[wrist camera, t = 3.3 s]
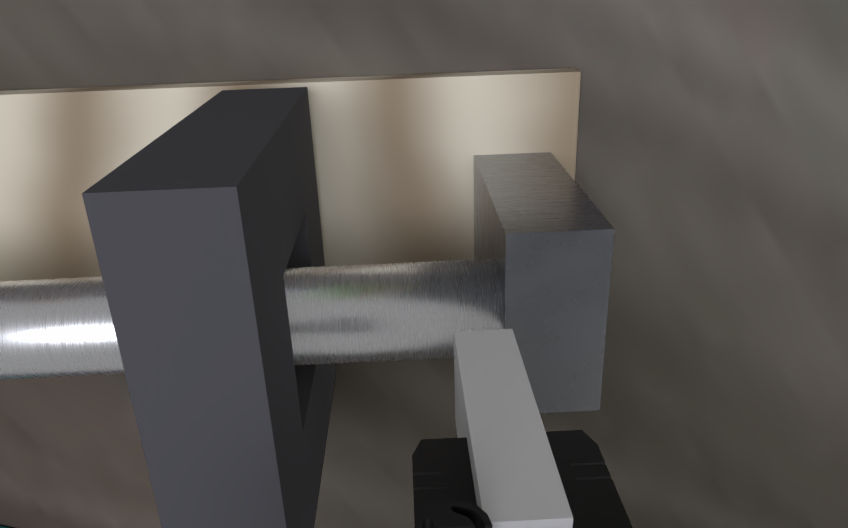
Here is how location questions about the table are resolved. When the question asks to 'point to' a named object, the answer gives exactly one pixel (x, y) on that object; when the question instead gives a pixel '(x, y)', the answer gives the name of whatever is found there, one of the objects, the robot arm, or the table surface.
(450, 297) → the pipe
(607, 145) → the table surface
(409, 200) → the board
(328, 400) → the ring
